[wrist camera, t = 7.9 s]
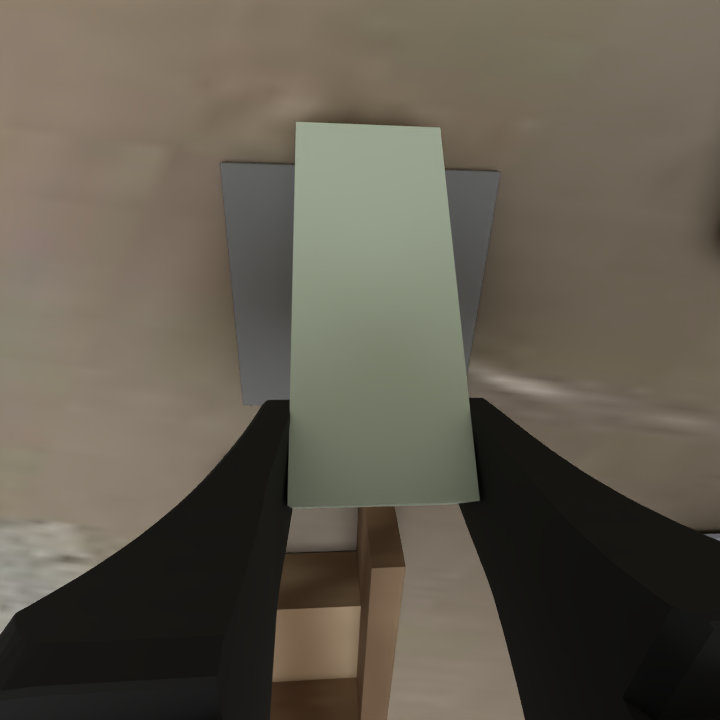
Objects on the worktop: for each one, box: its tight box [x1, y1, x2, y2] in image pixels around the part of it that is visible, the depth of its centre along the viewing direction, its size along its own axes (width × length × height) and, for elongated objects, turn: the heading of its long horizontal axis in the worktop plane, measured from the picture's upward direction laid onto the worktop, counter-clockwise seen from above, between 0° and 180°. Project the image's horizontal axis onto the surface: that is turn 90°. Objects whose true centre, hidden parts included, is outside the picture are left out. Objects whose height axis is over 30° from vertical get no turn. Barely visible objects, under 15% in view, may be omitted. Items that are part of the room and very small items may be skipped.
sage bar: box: [288, 122, 480, 509], centre depth 12 cm, size 4×10×2 cm
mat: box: [220, 162, 501, 405], centre depth 17 cm, size 9×9×1 cm
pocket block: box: [224, 456, 405, 720], centre depth 21 cm, size 7×13×5 cm, turn 178°
